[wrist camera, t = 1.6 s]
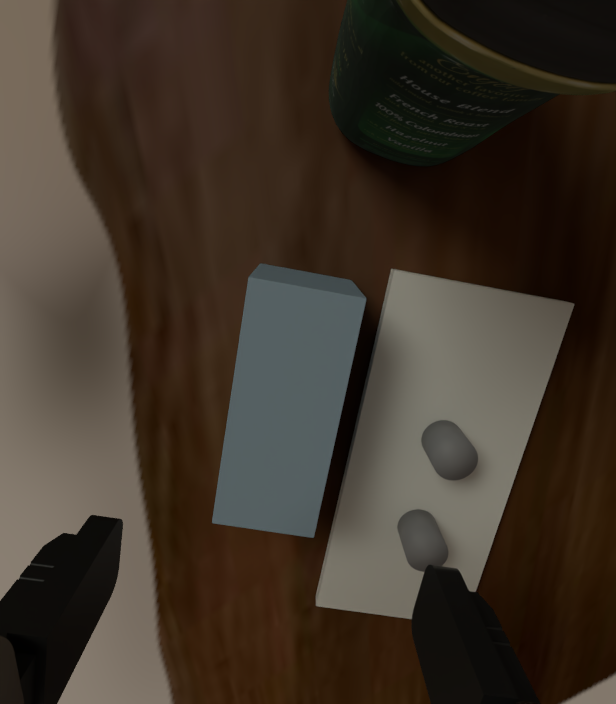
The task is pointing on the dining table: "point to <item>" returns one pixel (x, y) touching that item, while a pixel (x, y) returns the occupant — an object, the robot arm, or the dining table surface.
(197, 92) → the dining table surface
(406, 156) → the coffee jar
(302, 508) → the block
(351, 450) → the board
